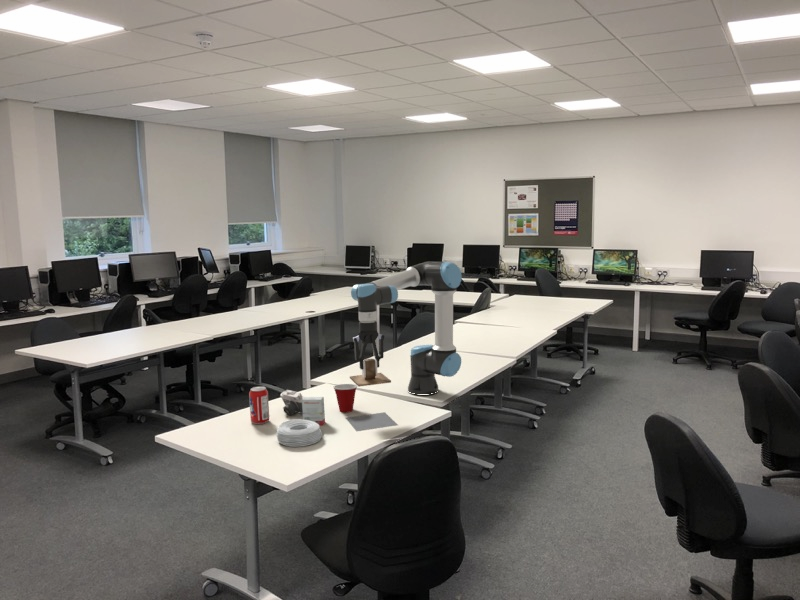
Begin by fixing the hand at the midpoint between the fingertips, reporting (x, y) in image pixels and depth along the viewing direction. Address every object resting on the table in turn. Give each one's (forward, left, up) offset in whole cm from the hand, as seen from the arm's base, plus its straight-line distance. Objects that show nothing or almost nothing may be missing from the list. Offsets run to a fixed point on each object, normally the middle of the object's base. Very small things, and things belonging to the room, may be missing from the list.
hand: (369, 375), depth 252 cm
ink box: (+23, -7, -21) cm, 32 cm away
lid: (0, 0, -2) cm, 2 cm away
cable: (+32, +7, -21) cm, 39 cm away
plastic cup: (+6, -19, -21) cm, 29 cm away
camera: (+29, -26, -21) cm, 44 cm away
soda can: (+44, -20, -21) cm, 53 cm away
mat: (0, 0, -20) cm, 20 cm away
